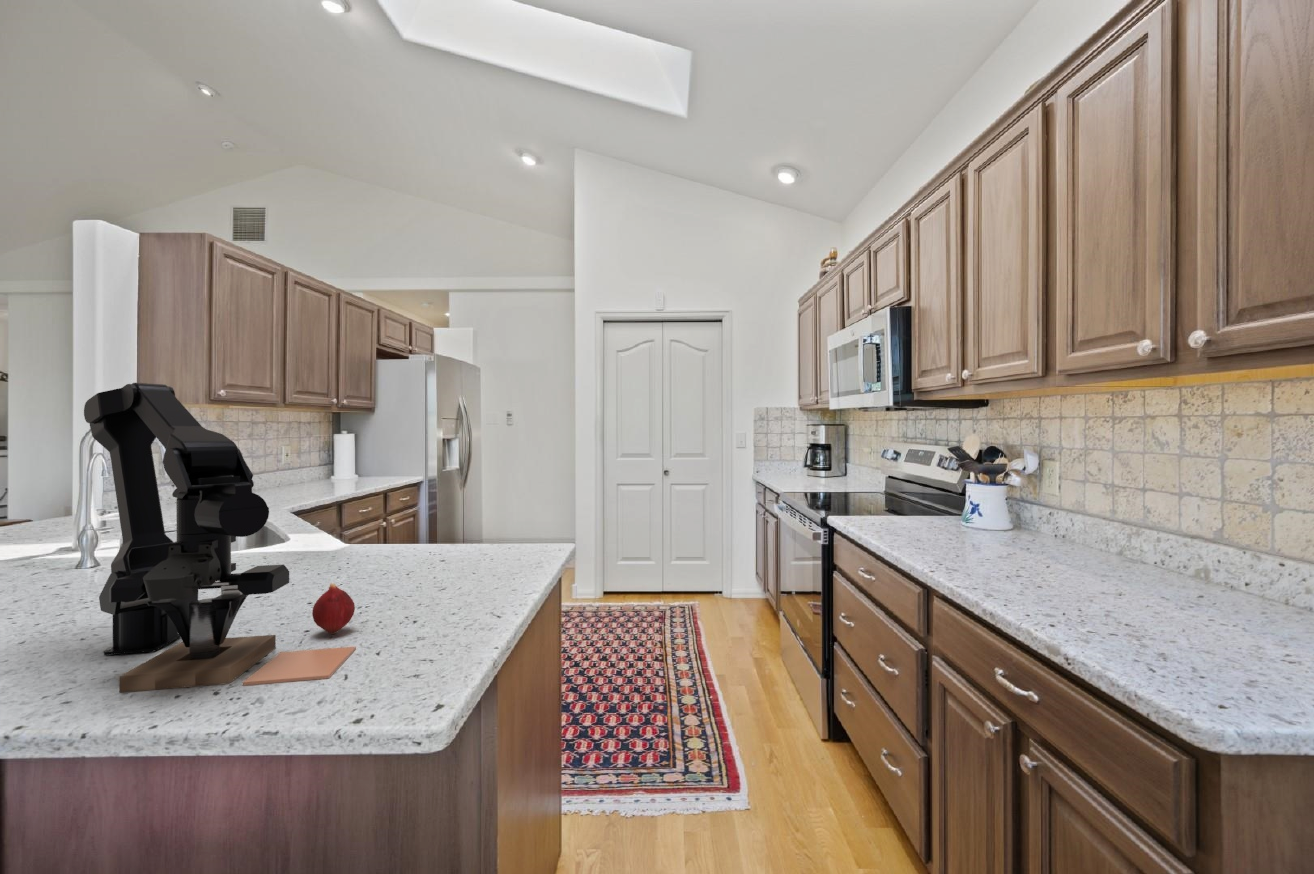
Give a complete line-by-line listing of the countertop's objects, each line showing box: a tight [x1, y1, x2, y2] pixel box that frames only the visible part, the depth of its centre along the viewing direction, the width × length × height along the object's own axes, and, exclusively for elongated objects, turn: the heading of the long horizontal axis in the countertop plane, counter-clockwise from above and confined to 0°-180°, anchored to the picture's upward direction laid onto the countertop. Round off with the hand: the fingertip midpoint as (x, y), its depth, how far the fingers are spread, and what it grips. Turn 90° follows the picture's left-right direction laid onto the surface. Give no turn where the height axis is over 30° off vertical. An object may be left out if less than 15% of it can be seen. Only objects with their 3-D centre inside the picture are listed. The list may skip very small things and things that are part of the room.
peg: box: [189, 597, 220, 660], centre depth 74 cm, size 3×3×9 cm
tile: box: [242, 646, 357, 686], centre depth 75 cm, size 10×10×1 cm
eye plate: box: [118, 634, 277, 693], centre depth 74 cm, size 12×12×2 cm
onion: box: [311, 582, 356, 635], centre depth 88 cm, size 6×6×8 cm
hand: (204, 645), depth 74 cm, fingers closed on peg, 3 cm apart
